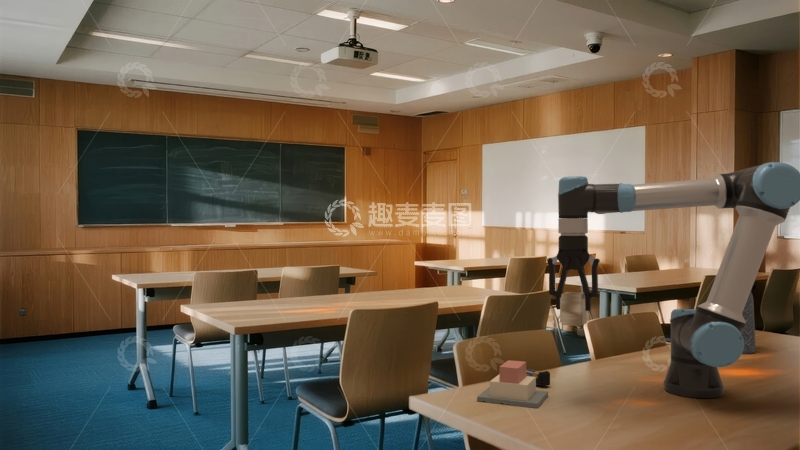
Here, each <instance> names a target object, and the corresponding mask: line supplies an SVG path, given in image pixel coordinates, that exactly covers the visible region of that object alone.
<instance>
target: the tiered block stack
mask: <svg viewBox="0 0 800 450" xmlns="http://www.w3.org/2000/svg"><path fill="white" fill-rule="evenodd" d="M526 370H527V361H523V360H522V361H521V360H510V359H509V360H506V361H505V362H504V363H502V364H501V365H500V366H499V370H498V371H499V373H498V375H496V376H495V377H494V378H492V379H491V380H490V381H489V387H487V388H486V389H485V390H484V391H482V392H481V393H480V394H478V395H477V396H476V402H479V401H486V402H485V403H488V402H494V403H493V404H496V403H503V404H502V405H505V404H509V405H508V406H513V405H514V407H515V406H516V407H523V408H530V409H531V408H532V409H539V407H541V405H542V404H543V403H544V402H545V401H546V399H547V398H548V397H549V391H546V390H545V391H544V390H538V389H537V384H536V377H531V376H526Z"/></svg>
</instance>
